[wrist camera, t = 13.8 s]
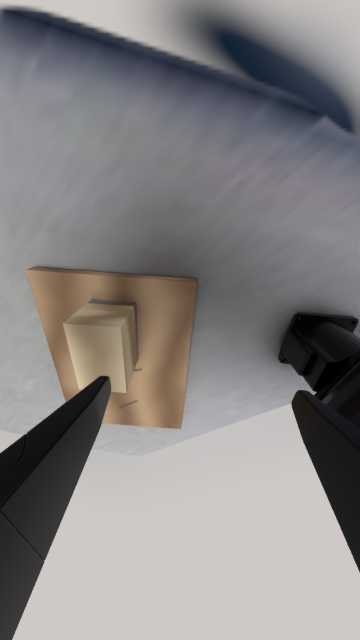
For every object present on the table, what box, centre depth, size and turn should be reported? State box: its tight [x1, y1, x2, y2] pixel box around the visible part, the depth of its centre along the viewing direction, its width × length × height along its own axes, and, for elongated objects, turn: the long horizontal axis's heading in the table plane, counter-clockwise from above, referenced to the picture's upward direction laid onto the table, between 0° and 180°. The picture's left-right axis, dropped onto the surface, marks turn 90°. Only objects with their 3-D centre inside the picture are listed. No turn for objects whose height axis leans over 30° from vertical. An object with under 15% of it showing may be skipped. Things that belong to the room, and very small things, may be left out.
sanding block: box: [63, 299, 138, 393], centre depth 18 cm, size 4×7×5 cm, turn 176°
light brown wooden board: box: [26, 267, 197, 429], centre depth 23 cm, size 16×22×1 cm
